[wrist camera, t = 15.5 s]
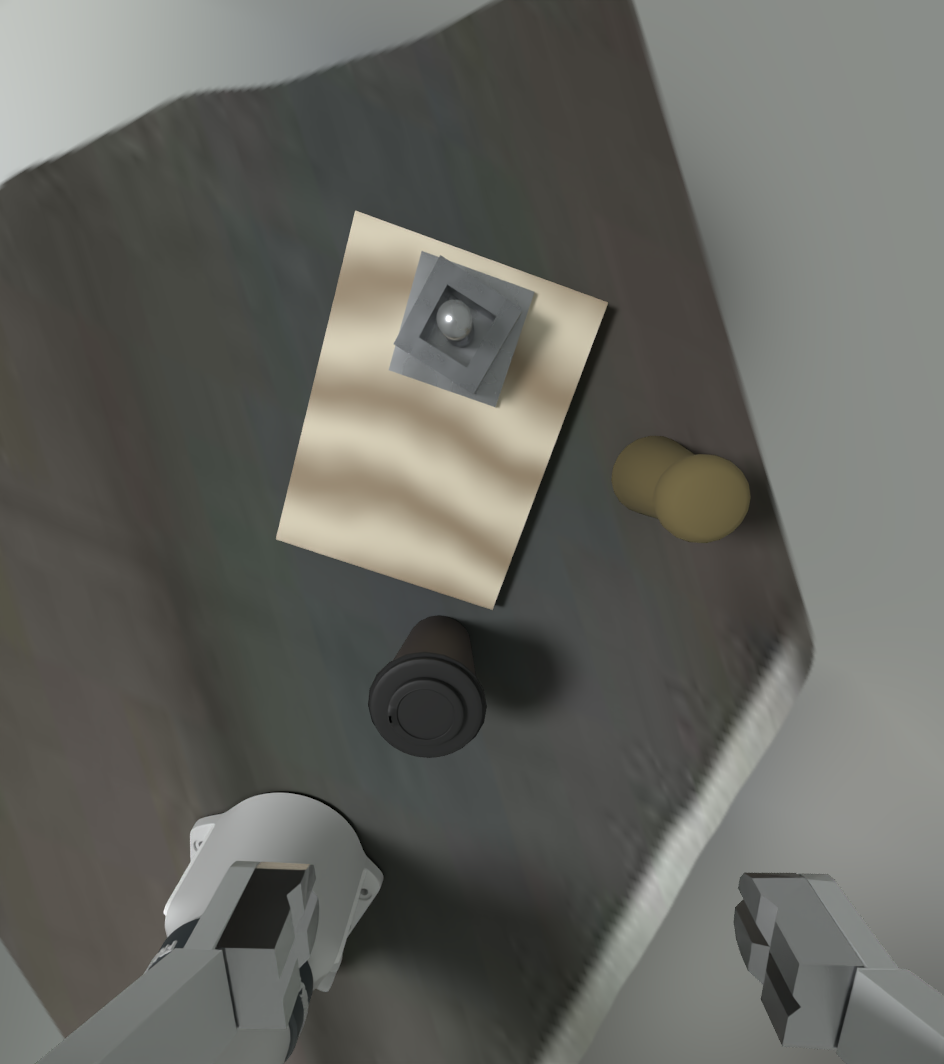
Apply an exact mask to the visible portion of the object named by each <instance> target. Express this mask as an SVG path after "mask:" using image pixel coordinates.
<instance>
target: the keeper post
mask: <svg viewBox="0 0 944 1064" xmlns="http://www.w3.org/2000/svg"><path fill="white" fill-rule="evenodd" d="M438 258H439V257H438V256H435V255H432V254H429V253H427V252H424V251H422V252H421V255H420V259H419V263H418V266H417V270H416V273H415V277H414V281H413V284H412V288H411V291H410V295H409V299H408V302H407V306H406V309H405V313H404V317H403V320H402V324H401V327H400V331H401V329H402V327H403V325H404V323H405V321H406V319H407V317H408V315H409V313H410V312H411V310H412V308H413V306H414V304H415V302H416V300H417V298H418V296H419V294H420V293H421V291H422V289H423V287H424V285H425V283H426V281H427V279H428V277H429V276H430V274H431V272H432V270H433V268H434V266H435V264H436V262H437V260H438ZM450 262H451V261H450ZM452 263H453V264H455V265H456V266H458V267H459V268H461V269H462V270H464V271H466V272H467V273H469V274H470V275H472V276H473V277H475V278H476V279H478V280H479V281H481V282H482V283H484V284H485V285H487V286H488V287H490V288H491V289H493V290H494V291H496V292H498V293H499V294H501V295H502V296H504V297H505V298H507V299H508V300H510V301H511V302H513V303H514V304H516V305H517V306H519V307H520V308H522V309H523V310H522V313H521V316H520V318H519V319H518V321H517V323H516V325H515V326H514V328H513V330H512V331H511V333H510V335H509V337H508V338H507V340H506V342H505V343H504V345H503V347H502V349H501V350H500V352H499V354H498V355H497V357H496V359H495V361H494V362H493V364H492V366H491V367H490V369H489V371H488V373H487V374H486V376H485V378H484V379H483V381H482V383H481V385H480V386H479V388H478V390H477V391H476V393H475V395H474V394H472V393H471V392H469V391H467V390H466V389H464V388H463V387H461V386H459V385H458V384H456V383H455V382H453V381H451V380H450V379H448V378H447V377H445V376H443V375H442V374H440V373H439V372H437V371H436V370H434V369H432V368H431V367H429V366H428V365H426V364H424V363H423V362H421V361H420V360H418V359H416V358H415V357H413V356H412V355H410V354H408V353H407V352H405V351H404V350H402V349H400V348H399V347H397V346H396V345H395V349H394V352H393V356H392V360H391V363H390V367H389V370H390V371H393V372H395V373H398V374H401V375H404V376H407V377H410V378H413V379H416V380H418V381H421V382H424V383H427V384H430V385H433V386H436V387H438V388H441V389H444V390H447V391H450V392H453V393H456V394H459V395H461V396H464V397H467V398H470V399H473V400H476V401H479V402H482V403H484V404H487V405H490V406H493V407H496V404H497V401H498V398H499V395H500V392H501V389H502V387H503V384H504V381H505V378H506V375H507V372H508V369H509V366H510V363H511V360H512V357H513V354H514V351H515V348H516V345H517V342H518V339H519V336H520V333H521V330H522V327H523V325H524V322H525V319H526V316H527V313H528V310H529V307H530V304H531V301H532V298H533V295H534V291H531V290H529V289H526V288H523V287H520V286H518V285H515V284H512V283H509V282H507V281H504V280H501V279H498V278H496V277H493V276H490V275H487V274H484V273H482V272H479V271H476V270H473V269H471V268H468V267H465V266H462V265H460V264H457V263H454V262H452ZM492 323H493V321H492V320H490V319H489V318H487V317H486V316H484V315H483V314H481V313H479V312H478V311H476V310H475V309H473V308H472V307H470V306H469V305H467V304H466V303H464V302H462V301H461V300H459V299H458V298H456V297H455V296H453V295H452V294H451V295H450V296H449V298H448V300H447V301H446V302H445V303H443V304H442V305H441V306H440V308H439V310H438V312H437V320H436V322H435V324H434V326H433V328H432V330H431V332H430V333H429V335H428V337H427V339H426V342H427V343H429V344H430V345H432V346H433V347H435V348H437V349H438V350H440V351H441V352H443V353H445V354H446V355H448V356H449V357H451V358H452V359H454V360H456V361H457V362H459V363H460V364H462V365H463V366H465V367H468V365H469V363H470V362H471V360H472V358H473V356H474V355H475V353H476V351H477V349H478V348H479V346H480V344H481V342H482V341H483V339H484V337H485V335H486V334H487V332H488V330H489V328H490V327H491V325H492ZM400 331H399V332H400Z"/></svg>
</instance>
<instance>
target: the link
mask: <svg viewBox="0 0 944 1064" xmlns="http://www.w3.org/2000/svg"><path fill="white" fill-rule="evenodd" d="M451 294H452V295H453V296H455V297H456V298H458V299H459V300H461V301H462V302H464V303H466V304H467V305H469V306H470V307H472V308H473V309H475V310H476V311H478V312H479V313H481V314H483V315H484V316H486V317H487V318H489V319H490V320H492V321H493V323H492V325H491V327H490V328H489V330H488V332H487V334H486V335H485V337H484V339H483V341H482V342H481V344H480V346H479V348H478V349H477V351H476V353H475V355H474V356H473V358H472V360H471V362H470V363H469V365H468V367H465V366H463V365H462V364H460V363H459V362H457V361H456V360H454V359H452V358H451V357H449V356H448V355H446V354H445V353H443V352H441V351H440V350H438V349H437V348H435V347H433V346H432V345H430V344H429V343H427V342H426V339H427V337H428V335H429V333H430V332H431V330H432V328H433V326H434V324H435V322H436V320H437V312H438V310H439V308H440V306H441V305H442V304H443V303H445V302H446V301H447V300H448V298H449V296H450V295H451ZM522 310H523V309H522V308H520V307H519V306H517V305H516V304H514V303H513V302H511V301H510V300H508V299H507V298H505V297H504V296H502V295H501V294H499V293H498V292H496V291H494V290H493V289H491V288H490V287H488V286H487V285H485V284H484V283H482V282H481V281H479V280H478V279H476V278H475V277H473V276H472V275H470V274H469V273H467V272H466V271H464V270H462V269H461V268H459V267H458V266H456V265H455V264H453V263H452V262H450V261H449V260H447V259H446V258H444V257H443V256H441V255H440V257H439V258H438V260H437V262H436V264H435V266H434V268H433V270H432V272H431V274H430V276H429V277H428V279H427V281H426V283H425V285H424V287H423V289H422V291H421V293H420V294H419V296H418V298H417V300H416V302H415V304H414V306H413V308H412V310H411V312H410V313H409V315H408V317H407V319H406V321H405V323H404V325H403V327H402V329H401V331H400V332H399V334H398V336H397V338H396V340H395V342H394V345H396V346H397V347H399V348H400V349H402V350H404V351H405V352H407V353H408V354H410V355H412V356H413V357H415V358H416V359H418V360H420V361H421V362H423V363H424V364H426V365H428V366H429V367H431V368H432V369H434V370H436V371H437V372H439V373H440V374H442V375H443V376H445V377H447V378H448V379H450V380H451V381H453V382H455V383H456V384H458V385H459V386H461V387H463V388H464V389H466V390H467V391H469V392H471V393H472V394H474V395H475V393H476V391H477V390H478V388H479V386H480V385H481V383H482V381H483V379H484V378H485V376H486V374H487V373H488V371H489V369H490V367H491V366H492V364H493V362H494V361H495V359H496V357H497V355H498V354H499V352H500V350H501V349H502V347H503V345H504V343H505V342H506V340H507V338H508V337H509V335H510V333H511V331H512V330H513V328H514V326H515V325H516V323H517V321H518V319H519V318H520V316H521V313H522Z"/></svg>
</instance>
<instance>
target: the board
mask: <svg viewBox="0 0 944 1064" xmlns="http://www.w3.org/2000/svg"><path fill="white" fill-rule="evenodd" d="M422 251H424V252H427V253H429V254H432V255H435V256H438V257H440V255H441V256H443V257H444V258H446V259H447V260H449V261H451V262H454V263H457V264H460V265H462V266H465V267H468V268H471V269H473V270H476V271H479V272H482V273H484V274H487V275H490V276H493V277H496V278H498V279H501V280H504V281H507V282H509V283H512V284H515V285H518V286H520V287H523V288H526V289H529V290H531V291H534V295H533V298H532V301H531V304H530V307H529V310H528V313H527V316H526V319H525V322H524V325H523V327H522V330H521V333H520V336H519V339H518V342H517V345H516V348H515V351H514V354H513V357H512V360H511V363H510V366H509V369H508V372H507V375H506V378H505V381H504V384H503V387H502V389H501V392H500V395H499V398H498V401H497V404H496V407H493V406H490V405H487V404H484V403H482V402H479V401H476V400H473V399H470V398H467V397H464V396H461V395H459V394H456V393H453V392H450V391H447V390H444V389H441V388H438V387H436V386H433V385H430V384H427V383H424V382H421V381H418V380H416V379H413V378H410V377H407V376H404V375H401V374H398V373H395V372H393V371H390V370H389V367H390V363H391V360H392V356H393V352H394V349H395V345H394V342H395V340H396V338H397V336H398V334H399V331H400V327H401V324H402V320H403V317H404V313H405V309H406V306H407V302H408V299H409V295H410V291H411V288H412V284H413V281H414V277H415V273H416V270H417V266H418V263H419V259H420V255H421V252H422ZM607 304H608V302H605V301H602V300H599V299H597V298H594V297H591V296H588V295H586V294H583V293H580V292H577V291H575V290H572V289H569V288H566V287H564V286H561V285H558V284H555V283H553V282H550V281H547V280H544V279H542V278H539V277H536V276H533V275H531V274H528V273H525V272H522V271H520V270H517V269H514V268H511V267H509V266H506V265H503V264H501V263H498V262H495V261H492V260H490V259H487V258H484V257H481V256H479V255H476V254H473V253H470V252H468V251H465V250H462V249H459V248H457V247H454V246H451V245H448V244H446V243H443V242H440V241H437V240H435V239H432V238H429V237H426V236H424V235H421V234H418V233H415V232H413V231H410V230H407V229H404V228H402V227H399V226H396V225H393V224H391V223H388V222H385V221H382V220H380V219H377V218H374V217H371V216H369V215H366V214H363V213H360V212H358V211H355V214H354V218H353V222H352V227H351V231H350V235H349V239H348V243H347V247H346V251H345V256H344V260H343V264H342V268H341V272H340V276H339V280H338V285H337V289H336V293H335V297H334V301H333V305H332V309H331V313H330V318H329V322H328V326H327V330H326V334H325V338H324V342H323V347H322V351H321V355H320V359H319V363H318V367H317V371H316V376H315V380H314V384H313V388H312V392H311V396H310V400H309V404H308V409H307V413H306V417H305V421H304V425H303V429H302V433H301V438H300V442H299V446H298V450H297V454H296V458H295V462H294V466H293V471H292V475H291V479H290V483H289V487H288V491H287V495H286V500H285V504H284V508H283V512H282V516H281V520H280V524H279V529H278V533H277V537H276V539H277V540H280V541H283V542H286V543H289V544H292V545H295V546H298V547H302V548H305V549H308V550H311V551H314V552H317V553H320V554H323V555H326V556H329V557H332V558H335V559H338V560H341V561H344V562H347V563H351V564H354V565H357V566H360V567H363V568H366V569H369V570H372V571H375V572H378V573H381V574H384V575H387V576H390V577H393V578H396V579H399V580H403V581H406V582H409V583H412V584H415V585H418V586H421V587H424V588H427V589H430V590H433V591H436V592H439V593H442V594H445V595H448V596H452V597H455V598H458V599H461V600H464V601H467V602H470V603H473V604H476V605H479V606H482V607H485V608H488V609H491V610H493V607H494V604H495V602H496V599H497V596H498V594H499V591H500V588H501V586H502V583H503V581H504V578H505V575H506V573H507V570H508V567H509V565H510V562H511V559H512V557H513V554H514V551H515V549H516V546H517V543H518V541H519V538H520V535H521V533H522V530H523V527H524V525H525V522H526V519H527V517H528V514H529V512H530V509H531V506H532V504H533V501H534V498H535V496H536V493H537V490H538V488H539V485H540V482H541V480H542V477H543V474H544V472H545V469H546V466H547V464H548V461H549V458H550V456H551V453H552V450H553V448H554V445H555V442H556V440H557V437H558V435H559V432H560V429H561V427H562V424H563V421H564V419H565V416H566V413H567V411H568V408H569V405H570V403H571V400H572V397H573V395H574V392H575V389H576V387H577V384H578V381H579V379H580V376H581V373H582V371H583V368H584V366H585V363H586V360H587V358H588V355H589V352H590V350H591V347H592V344H593V342H594V339H595V336H596V334H597V331H598V328H599V326H600V323H601V320H602V318H603V315H604V312H605V310H606V307H607Z"/></svg>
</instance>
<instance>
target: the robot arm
mask: <svg viewBox="0 0 944 1064" xmlns="http://www.w3.org/2000/svg"><path fill="white" fill-rule="evenodd" d="M190 858H191V862H190V864H189V866H188V867H187V869H186V871H185V873H184V874H183V876H182V878H181V879H180V881H179V883H178V885H177V886H176V888H175V890H174V892H173V893H172V895H171V897H170V898H169V900H168V902H167V904H166V906H165V909H164V914H165V916H166V918H165V930H166V934H167V937H168V938H167V939H166V940H165V942H164V943H163V945H162V947H161V948H160V950H159V952H158V953H157V954H156V955H155V957H154V958H153V959H152V961H151V963H150V964H149V966H148V968H147V970H146V971H145V973H144V974H143V975H142V976H141V977H140V978H139V979H137V980H136V981H135V982H134V983H132V984H131V985H130V986H129V987H128V988H126V989H125V990H124V991H123V992H121V993H120V994H119V995H118V996H117V997H115V998H114V999H113V1000H112V1001H111V1002H109V1003H108V1004H107V1005H106V1006H104V1007H103V1008H102V1009H101V1010H100V1011H98V1012H97V1013H96V1014H95V1015H93V1016H92V1017H91V1018H90V1019H89V1020H87V1021H86V1022H85V1023H84V1024H83V1025H81V1026H80V1027H79V1028H78V1029H76V1030H75V1031H74V1032H73V1033H72V1034H70V1035H69V1036H68V1037H67V1038H65V1039H64V1040H63V1041H62V1042H61V1043H59V1044H58V1045H57V1046H56V1047H55V1048H54V1049H52V1050H51V1051H50V1052H48V1053H47V1054H46V1055H45V1056H44V1057H42V1058H41V1059H40V1060H39V1061H37V1062H36V1063H35V1064H284V1063H285V1062H286V1061H287V1059H288V1058H289V1057H290V1055H291V1054H292V1052H293V1050H294V1048H295V1046H296V1043H297V1040H298V1037H299V1035H300V1033H301V1031H302V1028H303V1026H304V1023H305V1020H306V1017H307V1012H308V1005H309V1002H310V999H311V996H312V992H313V990H314V989H315V988H316V989H318V990H321V991H323V992H328V990H329V989H330V987H331V985H332V983H333V980H334V977H335V975H336V972H337V971H338V969H339V966H340V964H341V961H342V957H343V954H342V953H343V949H344V946H345V943H346V939H347V937H348V936H349V934H350V933H351V931H352V930H353V928H354V927H355V925H356V924H357V923H358V921H359V920H360V918H361V917H362V915H363V914H364V912H365V911H366V909H367V908H368V906H369V905H370V903H371V902H372V901H373V899H374V898H375V896H376V895H377V893H378V892H379V890H380V888H381V885H382V882H383V874H382V872H381V871H380V869H379V868H378V867H377V866H376V865H375V864H374V863H373V862H372V861H371V860H370V859H369V858H368V857H367V856H366V854H365V853H364V851H363V848H362V846H361V843H360V841H359V839H358V837H357V835H356V833H355V831H354V830H353V828H352V827H351V826H350V824H349V823H348V822H347V821H346V820H345V819H344V818H343V817H342V816H341V815H340V814H338V813H337V812H336V811H335V810H333V809H332V808H330V807H329V806H327V805H325V804H323V803H321V802H319V801H317V800H314V799H312V798H309V797H306V796H302V795H298V794H292V793H267V794H261V795H257V796H254V797H251V798H248V799H246V800H244V801H242V802H240V803H239V804H237V805H236V806H234V807H233V808H231V809H230V810H228V811H227V812H225V813H223V814H218V815H212V816H208V817H204V818H201V819H199V820H198V821H197V822H196V823H195V825H194V826H193V828H192V830H191V832H190ZM738 889H739V891H740V893H741V895H742V897H743V900H742V901H741V902H740V903H739V904H738V905H737V906H736V907H735V914H734V927H735V934H736V940H737V943H738V947H739V950H740V953H741V956H742V958H743V960H744V962H745V965H746V967H747V969H748V971H749V972H750V973H751V974H752V975H754V976H755V977H756V978H757V979H758V980H759V981H760V982H761V983H762V984H763V990H762V996H761V1001H762V1003H763V1005H764V1007H765V1009H766V1011H767V1013H768V1016H769V1018H770V1020H771V1022H772V1025H773V1027H774V1029H775V1031H776V1033H777V1035H778V1038H779V1040H780V1042H781V1044H782V1046H785V1047H800V1048H815V1049H829V1050H837V1052H836V1054H837V1055H838V1056H839V1057H840V1058H841V1059H842V1060H843V1061H844V1062H845V1063H846V1064H944V995H943V994H941V993H940V992H939V991H937V990H936V989H935V988H933V987H932V986H930V985H929V984H928V983H926V982H925V981H924V980H922V979H921V978H920V977H918V976H917V975H916V974H914V973H913V972H912V971H910V970H908V969H899V967H898V966H897V965H896V963H895V962H894V960H893V959H892V958H891V957H890V955H889V954H888V952H887V951H886V950H885V948H884V947H883V945H882V944H881V943H880V941H879V940H878V939H877V937H876V936H875V934H874V933H873V932H872V930H871V929H870V927H869V926H868V925H867V923H866V922H865V921H864V919H863V918H862V916H861V915H860V914H859V912H858V911H857V910H856V908H855V907H854V905H853V904H852V903H851V901H850V900H849V898H848V897H847V896H846V894H845V893H844V892H843V890H842V889H841V887H840V886H839V885H838V883H837V882H836V881H835V879H833V878H832V877H831V876H829V875H828V874H796V873H744V874H743V875H742V876H741V877H740V881H739V887H738Z"/></svg>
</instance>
